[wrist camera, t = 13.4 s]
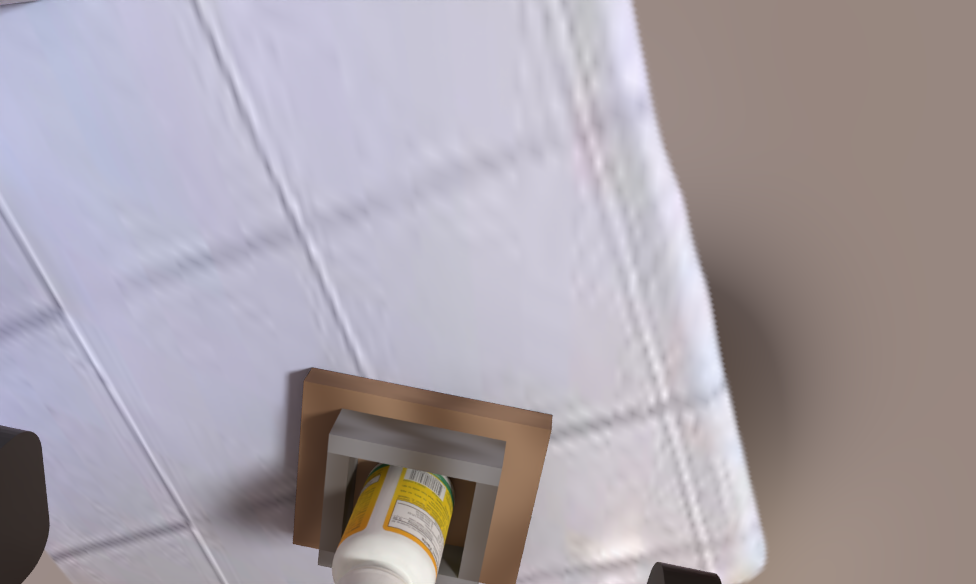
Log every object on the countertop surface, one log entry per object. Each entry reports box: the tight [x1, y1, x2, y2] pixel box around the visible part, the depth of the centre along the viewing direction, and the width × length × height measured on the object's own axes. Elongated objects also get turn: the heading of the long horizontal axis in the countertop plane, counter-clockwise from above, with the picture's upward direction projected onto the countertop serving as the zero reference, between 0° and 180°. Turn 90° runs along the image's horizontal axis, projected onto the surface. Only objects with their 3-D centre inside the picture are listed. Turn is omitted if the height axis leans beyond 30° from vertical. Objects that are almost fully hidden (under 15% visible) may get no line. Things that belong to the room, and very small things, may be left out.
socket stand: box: [293, 368, 552, 584], centre depth 45 cm, size 14×12×4 cm
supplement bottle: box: [332, 463, 455, 584], centre depth 41 cm, size 5×5×10 cm
